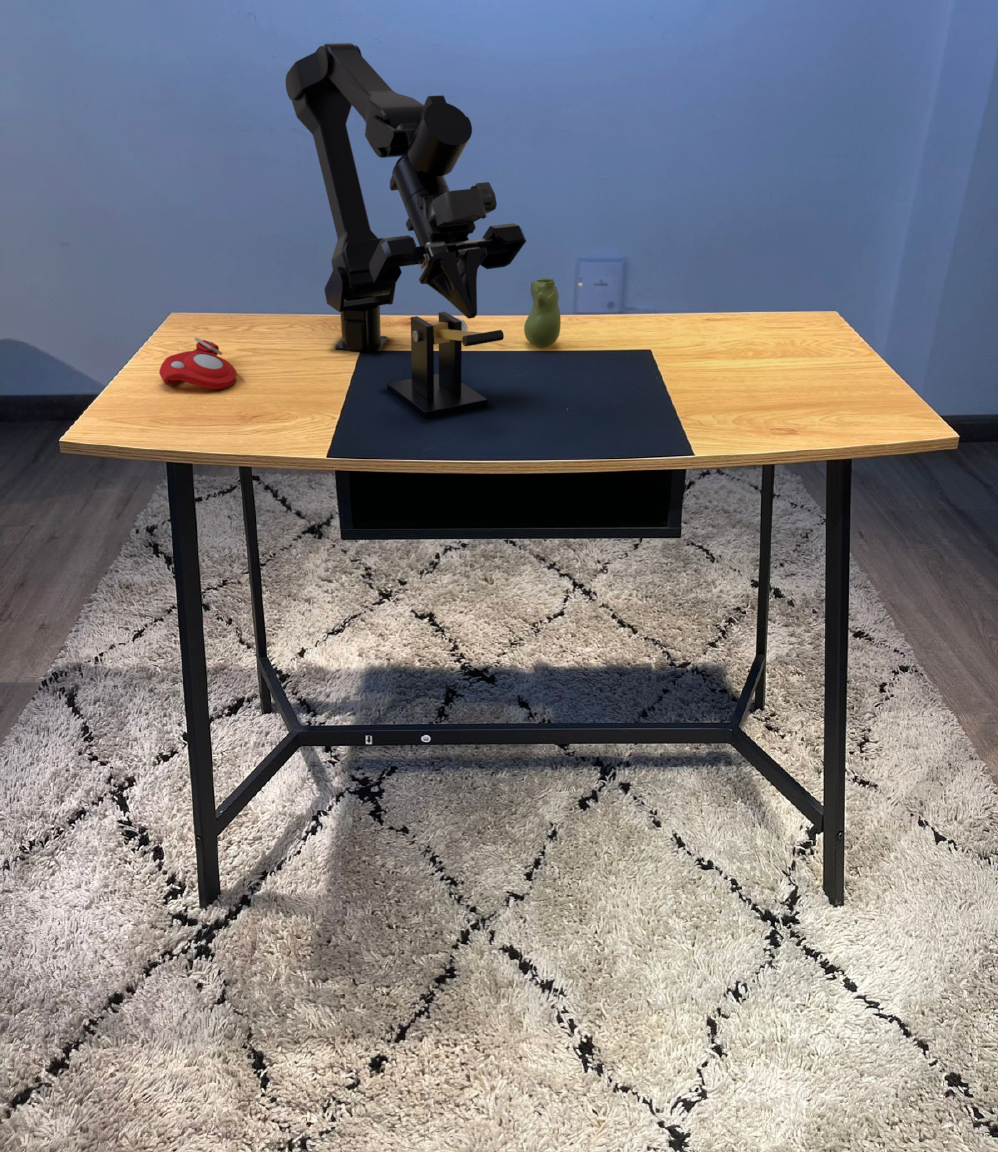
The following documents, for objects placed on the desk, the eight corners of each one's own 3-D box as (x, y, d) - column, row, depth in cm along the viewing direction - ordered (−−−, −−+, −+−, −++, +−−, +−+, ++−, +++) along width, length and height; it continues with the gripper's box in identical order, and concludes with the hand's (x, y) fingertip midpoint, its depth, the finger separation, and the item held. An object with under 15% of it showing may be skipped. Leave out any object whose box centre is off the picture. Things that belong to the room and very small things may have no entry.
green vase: (563, 351, 151) (567, 283, 146) (528, 353, 150) (531, 285, 145) (553, 338, 156) (556, 273, 150) (519, 340, 154) (522, 274, 149)
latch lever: (504, 345, 120) (502, 324, 119) (468, 352, 118) (465, 330, 117) (449, 338, 132) (447, 320, 131) (414, 344, 130) (412, 325, 129)
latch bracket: (487, 408, 132) (489, 326, 126) (425, 421, 128) (424, 337, 122) (446, 380, 140) (446, 302, 134) (387, 391, 136) (384, 311, 130)
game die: (439, 338, 154) (439, 318, 153) (459, 333, 156) (459, 314, 155) (452, 344, 152) (452, 325, 150) (472, 340, 154) (472, 320, 152)
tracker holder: (249, 377, 135) (175, 373, 129) (242, 406, 138) (169, 403, 132) (220, 331, 142) (148, 325, 137) (213, 358, 145) (142, 354, 139)
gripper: (375, 163, 111) (424, 290, 109) (520, 152, 119) (568, 270, 117) (349, 223, 121) (393, 341, 118) (485, 208, 129) (529, 318, 127)
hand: (472, 316), depth 120 cm, fingers closed
